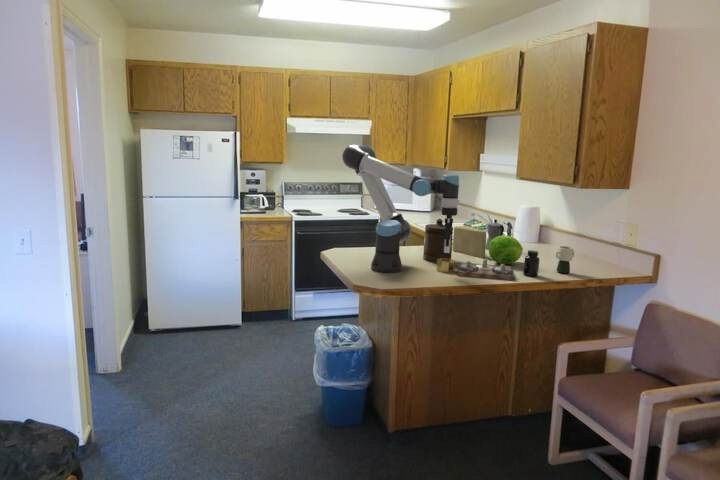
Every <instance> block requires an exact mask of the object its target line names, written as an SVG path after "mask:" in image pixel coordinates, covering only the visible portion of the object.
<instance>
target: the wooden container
mask: <svg viewBox="0 0 720 480" xmlns="http://www.w3.org/2000/svg"><path fill="white" fill-rule="evenodd" d="M443 222H444V220H443V219H442V218H438V219H436V223H429V224H425V229H424V240H423V241H424V242H423V256H422V258H423V259H422V260H425V261H427V262H431V263H437V259H439V258H447V259H452V251H453V235H454V227H453V226H452V228H451V232H452V234H450V235H451V245H450V253H444V242H445V239H443V237H445V230H446V228H445V224H444V223H443Z"/></svg>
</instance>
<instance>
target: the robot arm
mask: <svg viewBox="0 0 720 480" xmlns="http://www.w3.org/2000/svg"><path fill="white" fill-rule="evenodd" d="M342 162H343V164H344V165H345V167H348V168H349V169H351V170H354V172H355V174H356V176H359V177H361V179H362V181H363V183H364V185H365V188H366V189H367V191H368V193H369V196H370V197H371V200H372V202H373V204H374V206H375V208H376V210H377V213H378V214H379V217H380V218H381V219H380V220H381V221H378V222H377V224H376V228H375V250H374V251H375V253H374V256H373V258H372V261H371V264H370V269H371V270H372V269H373V270H372V271H374V270H375V272H378V271H379V272H378V273H385V272H386V273H387V274H388V273H390V274H392V273H400V272H401V271H402V270H403V263H402V259H401V256H400V247H401V246H400V245H401V244H402V243H404V242H405V241H407V240H408V239H409V237H410V236H411V233H412V231H411V230H412V228H411V225H410V223H409V222H408V220H406V219H404V217H403V215H402V213H401V212H399V211H397V209H396V207H395V205H394V203H393V200H392V199H391V196H390V194H389V193H388V191H387V188H386V187H385V184H384V182H383V180H385V181H387V182H389V183H392V184H394V185H397V186H399V187H401V188H403V189H406V190H408V191H410V192H412V193H414V194H415V195H416V196H419V197H425V196H427V195H431V194H434V195H437V194H438V195H442V196H441V206H442V207H441V213H440V214H441V215H443V216H446V217H445V218H444V225H445V228H446V230H445V237H443V239H445V242H444V253H450V245H451V235H450V234H452V232H451V228H452V227H453V223H454V219H453V217H454V216H457V215H458V204H459V202H460V200H458V199H459V192H460V190H459V189H460V177H459V175H458V174H453V173H452V174H448V173H447V174H443V177H442V178H441V177H440V178H439V177H437V178H436V177H427V176H425V177H421V176H418V175H415V174H413V173H411V172H408V171H406V170H403V169H401V168H399V167H396V166H395V165H391V164H389V163H387V162H385V161H382V160H380V159H378V158H377V156H376V152H375V151H374V149H373V148H372V147H370V146H369V145H367V144H351V145H348V146H347V147H346V148H345V149H344V150H343V152H342ZM452 235H453V234H452Z"/></svg>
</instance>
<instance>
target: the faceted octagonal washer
mask: <svg viewBox="0 0 720 480" xmlns="http://www.w3.org/2000/svg"><path fill="white" fill-rule="evenodd" d="M454 268H455V259H453V258H451V259H447V258H439V259H437V262H436V271H438V272H441V273H452V272H454Z"/></svg>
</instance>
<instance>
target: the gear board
mask: <svg viewBox="0 0 720 480" xmlns="http://www.w3.org/2000/svg"><path fill="white" fill-rule="evenodd" d="M456 272H457V273H456V276H459V277H468V278H469V277H470V278H479V277H480V278H481V279H482V278H483V279H490V278H491V279H493V280H505V281H515V275H514V269H512V267H511V266H510V265H506V264H500V265H497V264H488V260H487V259H486V258H483V260H482V263H472V262H471V261H469V260H468V261H466V262H463V261H462V262H461V261H460V262H459V261H457V269H456Z"/></svg>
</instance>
